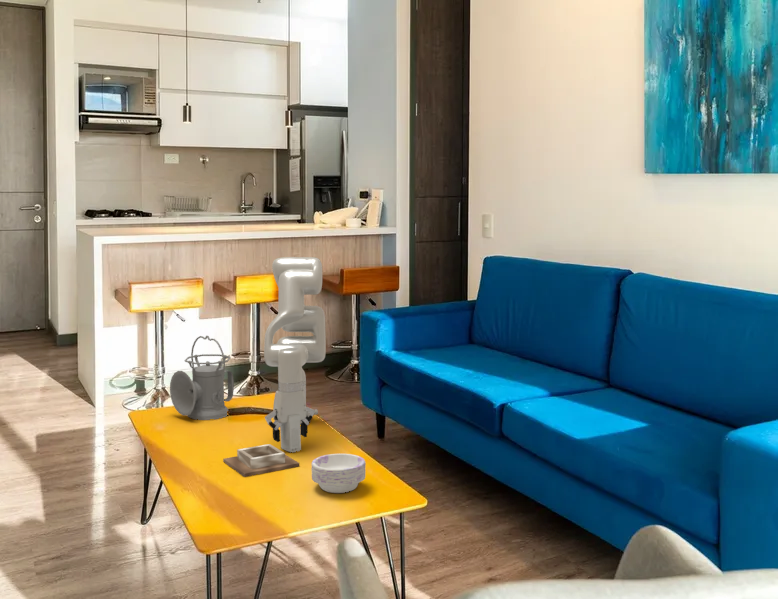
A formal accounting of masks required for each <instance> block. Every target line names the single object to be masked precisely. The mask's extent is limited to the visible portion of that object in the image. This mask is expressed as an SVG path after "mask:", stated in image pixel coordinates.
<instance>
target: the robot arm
mask: <svg viewBox="0 0 778 599" xmlns="http://www.w3.org/2000/svg"><path fill="white" fill-rule="evenodd" d="M271 267H272V268H271V269H272V274H273V278H274V280H275V283H276V285H277V287H278V307H277V308H278V312H277V315H276V316H275V317H274V318H273V319H272V321H270V323H269V325H268V327H267V329H266V330H265V333H264V340H263V341H264V347H263V349H264V350H263V359H264V362H265V364H266V366H269V367H272V368H273V367H277V370H278V371H277V375H278V376H277V378H278V379H277V381H278V382H277V386H278V388H277V390H276V391H275V393H274V399H273V409H272V411H271V412H269V413H268V414H266V415H265V416H264V419H265V421H266V423H267V425H268V426H269V427H271V429H272V438H273V441H275V442H276V443H279V442H281V431H280V429H279V428H280V425H281V424H282V423H287V422H288V416H291V415H298V414H299V415H300V425H301V426H300V435H301V437H303V438H307V437H308V432H309V431H308V430H309V429H308V426H309V425H310V423H311V421H312V420H313V416H315V415H316V416H317V415H319V411H318V409H317V408H316V409H313V408H311V407H309V406H307V403H306V402H307V398H306V397H307V388H306V387H307V378H306V377H307V375H306V372H305V370H304V369H303V366H304V365H305V364H306V363H322V362H323V361H324V360H325V358H326V350H327V349H326V348H327V346H326V345H327V344H326V339H327V338H326V314H325V311H324V309H323V307H321V306H319V305H306V304H305V295H311V296H312V295H319V294H320V293H321V291H322V288H323V287H322V286H323V264H322V261H321V260H320V258H318V257H313V256H309V257H308V256H306V257H305V256H300V257H299V256H284V257H282V256H281V257H278V258H275V259H274V260H273V261H272V265H271ZM280 329H281V330H283V331H285V332H287V333H311V334H312V335H287V336H282V337H280V338H279V339H278V340H277V342H276V343H274V341H273V340H274V336H275V334H276V333H277V332H278V331H279V330H280ZM272 419H273V420H274V421H272ZM309 422H310V423H309Z"/></svg>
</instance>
